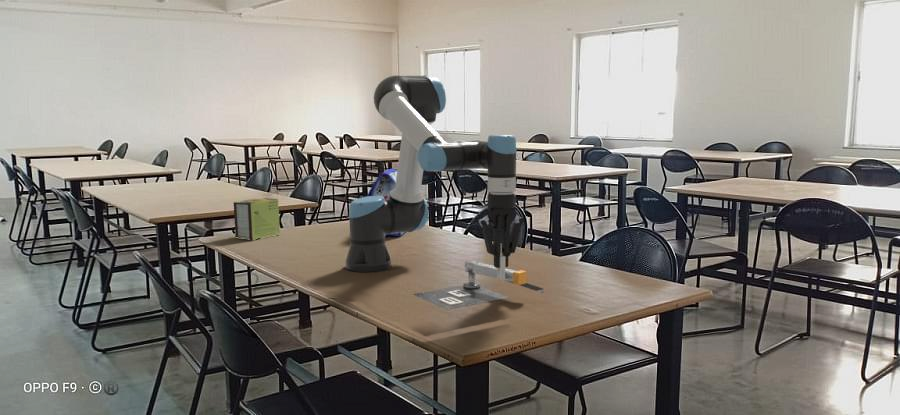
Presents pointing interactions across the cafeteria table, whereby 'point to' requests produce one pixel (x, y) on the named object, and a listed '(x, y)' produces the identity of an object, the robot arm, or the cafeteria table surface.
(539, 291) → the smartphone
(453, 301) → the label
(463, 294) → the label
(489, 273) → the swing arm
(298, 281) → the cafeteria table surface
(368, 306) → the cafeteria table surface
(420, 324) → the cafeteria table surface
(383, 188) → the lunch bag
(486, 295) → the board
